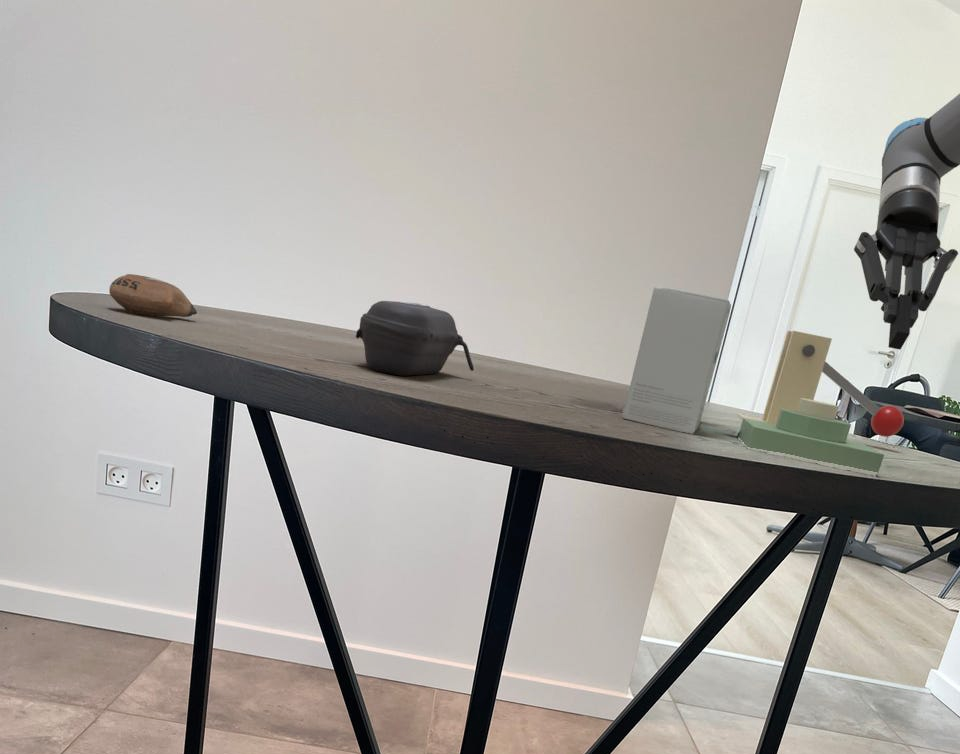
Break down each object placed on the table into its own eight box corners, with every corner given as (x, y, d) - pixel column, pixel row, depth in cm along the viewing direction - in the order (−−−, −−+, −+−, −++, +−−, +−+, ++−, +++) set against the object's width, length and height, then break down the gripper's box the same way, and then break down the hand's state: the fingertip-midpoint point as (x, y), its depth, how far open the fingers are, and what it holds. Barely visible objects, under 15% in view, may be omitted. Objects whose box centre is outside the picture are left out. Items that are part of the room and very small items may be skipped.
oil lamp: (193, 333, 100) (193, 328, 108) (202, 295, 99) (201, 292, 106) (103, 305, 97) (109, 302, 104) (111, 265, 96) (117, 264, 103)
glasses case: (379, 349, 107) (414, 285, 104) (457, 402, 107) (494, 340, 104) (323, 348, 90) (364, 272, 87) (416, 411, 90) (460, 337, 87)
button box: (854, 463, 98) (866, 424, 96) (876, 477, 88) (891, 434, 87) (737, 438, 99) (748, 399, 97) (747, 450, 89) (759, 406, 88)
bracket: (815, 440, 119) (845, 342, 115) (827, 447, 112) (859, 343, 108) (735, 423, 120) (762, 326, 116) (741, 429, 113) (771, 325, 109)
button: (829, 422, 94) (835, 404, 93) (836, 426, 90) (842, 407, 90) (792, 414, 94) (798, 396, 94) (798, 417, 91) (804, 399, 90)
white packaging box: (694, 435, 92) (730, 299, 88) (620, 419, 94) (652, 284, 90) (700, 430, 99) (733, 303, 95) (630, 415, 101) (660, 289, 97)
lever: (883, 441, 116) (906, 417, 115) (891, 444, 113) (914, 420, 111) (782, 354, 115) (804, 329, 114) (786, 355, 111) (809, 329, 110)
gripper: (944, 244, 132) (938, 372, 122) (849, 226, 133) (835, 351, 123) (970, 197, 125) (966, 329, 115) (870, 179, 126) (857, 307, 116)
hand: (898, 340), depth 119 cm, fingers closed
